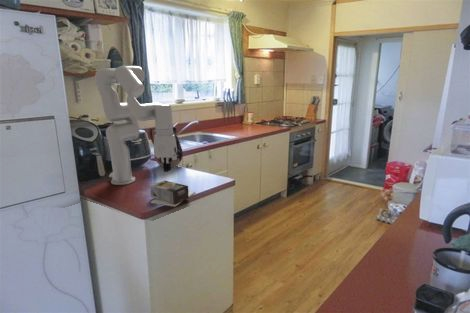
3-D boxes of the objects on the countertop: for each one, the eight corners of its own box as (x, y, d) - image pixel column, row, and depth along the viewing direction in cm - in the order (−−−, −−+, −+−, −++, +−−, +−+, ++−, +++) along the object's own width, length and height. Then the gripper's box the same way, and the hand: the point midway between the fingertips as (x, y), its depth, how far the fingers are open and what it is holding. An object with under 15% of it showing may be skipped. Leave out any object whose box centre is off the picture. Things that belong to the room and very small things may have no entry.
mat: (150, 202, 147) (150, 201, 147) (173, 189, 163) (172, 188, 163) (175, 206, 142) (174, 205, 142) (195, 192, 158) (195, 191, 158)
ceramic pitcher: (178, 170, 196) (175, 129, 190) (145, 169, 199) (141, 129, 193) (187, 162, 213) (184, 124, 206) (156, 161, 216) (153, 124, 210)
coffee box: (164, 179, 157) (188, 185, 148) (165, 192, 158) (189, 198, 149) (149, 184, 150) (174, 191, 141) (150, 197, 151) (175, 205, 142)
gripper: (145, 132, 145) (149, 171, 150) (173, 134, 139) (176, 175, 144) (155, 129, 152) (158, 167, 157) (183, 131, 146) (185, 170, 151)
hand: (167, 170), depth 150 cm, fingers closed
